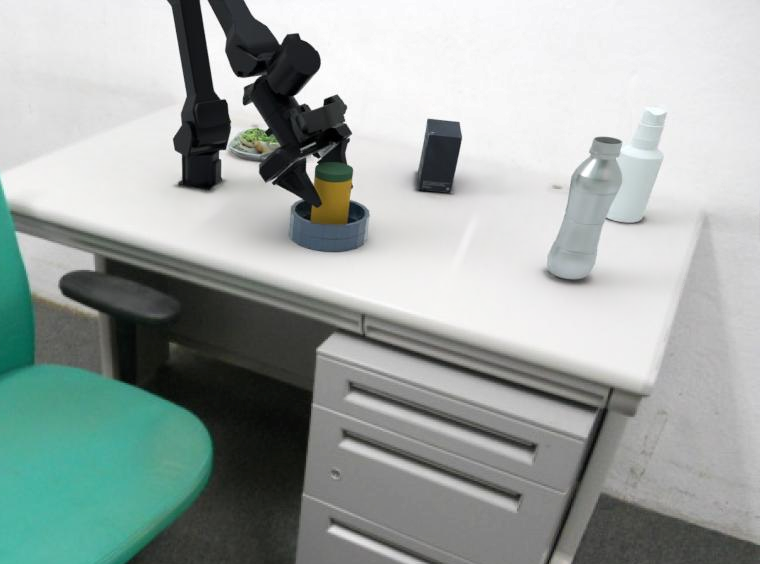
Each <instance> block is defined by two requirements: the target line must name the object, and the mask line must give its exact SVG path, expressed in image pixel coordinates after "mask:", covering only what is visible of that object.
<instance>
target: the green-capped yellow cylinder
mask: <svg viewBox="0 0 760 564" xmlns="http://www.w3.org/2000/svg"><path fill="white" fill-rule="evenodd" d="M353 177H354V167H353V166H351V165H349V164H348V163H347V164H344V163H338V162H325V163H321V164H318V163H317V164H316V165H315V167H314V178H313V179H314V180H313V185H314V187H315V189H316V191H317V193H318V195H319V197H320V199H321V201H322V205H321V206H320V207H318V208H316V207H314V206H313V205H312V211H311V221H312V222H316V223H321V224H330V225H340V224H347V220H348V211H349V203H350V200H351V193H352V189H351V186H352V185H353Z"/></svg>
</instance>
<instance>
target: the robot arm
mask: <svg viewBox="0 0 760 564" xmlns="http://www.w3.org/2000/svg"><path fill="white" fill-rule="evenodd" d="M166 2H167V3H168V4H169V5H170V7H171V11H172V12H171V13H172V17H173V23H174V24H173V25H174V29H175V35H176V41H177V46H178V53H179V58H180V59H179V60H180V65H181V70H182V71H181V72H182V77H183V82H184V89H185V94H186V97H185V100H184V103H183V106H182V109H181V111H180V120H181V126H180V127H179V129H178V130H177V132H176V133H175V134H174V137H172V143H173V148H174V151H175V152H176V153H178V154H180V155H181V180H180V181H178V182H177V185H178V186H179V187H186V188H190V189H191V188H192V189H196V190H203V191H211V190H212V189H214V188H215V187H216V186H217V185H218V184H220V183H221V182H222V181H223V177H222V158H220V151H227V147H228V145H229V140H230V136H231V131H232V121H231V118H230V117H231V116H230V111H229V104H228V101H227V99H225V98H224V99H223V98H222V99H221V98H220V96H219V95H218V94H217V93H216V91H215V88H214V81H213V74H212V68H211V62H210V56H209V49H208V44H207V43H208V42H207V37H206V32H205V31H206V30H205V25H204V18H203V12H202V5H201V0H166ZM207 2H208V4H209V6H210V8H211V10H212V12H213V14H214V17H216V20H217V21H218V23H219V25H220V27H221V29H222V31H223V34H224V36H225V47H224V53H225V56H226V58H227V60H228V63H229V67H230V68H231V71H232V72H233V74H234V75H235V76H236V77H237V78H241V79H247V78H252V77H253V78H255V77H257V78H256V79H255V81H254V82H252V83H249V84H247V85H245V86H244V87H243V96H242V105H243V106H248V105H250V104H253V105H254V108H255V109H256V110H257V112H258V113H259V115H260V117H261V118H262V119H263V121H264V122H265V125H266V126H267V129H265V130H266V131H265V133H266V135H267V136H268V137H271V136H273V135H274V137H275V138H276V140H277V142H278V143H279V145H280V146H281V147H279V148H277V149H276V150H275V151H274V152H272V153H271V154H270V155H269V156H268V157H267V158H266V159H265V160H264V161H261V162H260V163H259V165H258V175H259V176H260V177H261V179H262V180H263V182H264V183H265V184H267V183H269V182H271V184H272V185H273V186H278V187H280V188H282V189H283V190H286V191H288V192H289V193H291V194H293V195H294V196H297V197H298V198H299V199H300V200H302V199H303V200H305V201H306V202H308V203H310V204H311V205H313V206H314V207H316V208H318V207H320V206H321V205H322V201H321V199H320V197H319V195H318V193H317V191H316V189H315V187H314V182H312V179H311V178H310V176H309V174H308V173H307V172H308V171H307V158H308V157H310V156H313V157H314V158H316V159H318V160H317V161H316V163H317V165H318V164H321V163H325V162H338V163H344V164H347V165H348V159H347V153H346V152H347V149H348V144H349V143H350V142H351V138H350V137H351V136H352V135H353V132H352V130H351V128H350V127H349V125H348V124H347V123H346V118H345V114H346V113H347V110H348V105H347V104H346V103H345V102H344V100H343V99H342V98H341V97H340V95H339V94H334V95H331V96H329V97H326V98H324V99H323V103H322V104H323V105H322V106H320V107H317V108H314V109H311V107H310V105H309V104H306V103H302V104H300V103H299V102H298V100H297V99H296V97H295V96H297V95H298V94H300V92H301V91H302V90H303V89H304V88H305V87H306V85H307V84H309V82H311V80H312V79H313V77H314V76H315V75H316V74H317V73H318V72H319V70H320V69H321V66H322V58H321V55H320V53H319V51H318V50H316V48H315V47H314V46H313V45H312V44H311V43H309V42H308V41H307V40H304V39H302V38H301V35H300V33H298V32H294V33H287V34H286V35H285V37H284V38H283V39H282V42H281V43H280V42H279V40H278V39H277V38H276V35H274V33H273V32H272V31H271V29H270V28H269V27H268V25H266V24H264V23H263V22H261V21H260V20H258V19H257V18H256V17H255V16H254V15H253V14H252V12H251V11H250V9H249V6H248V5H247V3H246V1H245V0H207ZM301 152H302V153H301ZM353 188H354V185H353V184H352V186H351V190H353Z"/></svg>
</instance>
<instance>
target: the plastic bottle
mask: <svg viewBox="0 0 760 564" xmlns="http://www.w3.org/2000/svg"><path fill="white" fill-rule="evenodd" d="M622 146H623V140H621V139H620V138H616V137H611V136H595V137H594V138H593V140H592V143H591V147H590V148H589V149H588V153H589V154H590V155H589V156H588V157H587V158H586V159H585V160H583V161H582V162H581V163H580V164H579V165H578V166H577V167H576V168H575V170H574V171H573V173H572V175H571V178H570V184H569V188H568V189H569V191H568V197H567V203H566V208H565V211H564V212H565V213H564V216H563V220H562V222H561V225H560V226H559V227H560V228H559V230H558V233H557V235H556V238H555V240H554V241H553V243H552V245H551V247H550V249H549V251H548V253H547V257H546V266H547V270H548V272H550V274H552V275H553V276H556V277H559V278H561V279H565V280H581V279H584V278H586V277H587V276H588V275H590V274H591V272H592V271H593V269H594V267H595V265H596V262H597V257H598V247H599V243H600V238H601V234H602V231H603V230H602V229H603V227H604V225H605V221H606V219H607V218H606V217H607V214H608V211H609V209H610V207H611V205H612V203H613V201H614V199H615V197H616V195H617V193H618V190H619V189H620V186H621V184H622V173H621V170H620V167H619V165H618V163H617V158H618V157H619V156H620V153H621V152H620V150H621V148H623V147H622Z"/></svg>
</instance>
